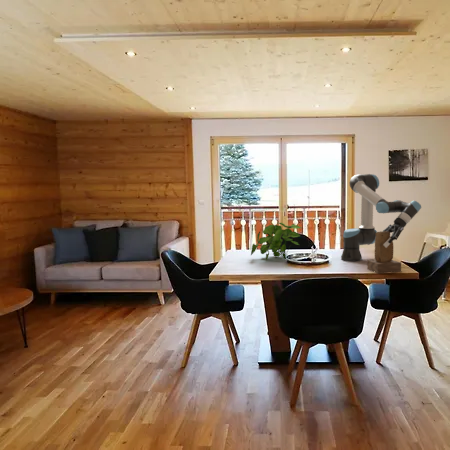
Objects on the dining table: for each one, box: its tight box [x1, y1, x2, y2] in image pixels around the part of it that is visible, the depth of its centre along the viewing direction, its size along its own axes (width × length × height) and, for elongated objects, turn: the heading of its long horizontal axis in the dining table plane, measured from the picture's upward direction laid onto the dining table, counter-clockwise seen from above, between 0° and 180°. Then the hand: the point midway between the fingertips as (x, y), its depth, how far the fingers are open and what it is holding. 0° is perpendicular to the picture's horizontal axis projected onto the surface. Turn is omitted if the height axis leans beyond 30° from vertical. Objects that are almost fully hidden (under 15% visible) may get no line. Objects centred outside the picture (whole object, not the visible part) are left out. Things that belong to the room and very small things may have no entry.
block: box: [374, 231, 394, 262], centre depth 271 cm, size 11×8×20 cm
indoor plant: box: [250, 222, 303, 261], centre depth 322 cm, size 44×42×30 cm
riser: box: [366, 259, 402, 274], centre depth 272 cm, size 14×16×6 cm
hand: (380, 245), depth 270 cm, fingers open, 11 cm apart
